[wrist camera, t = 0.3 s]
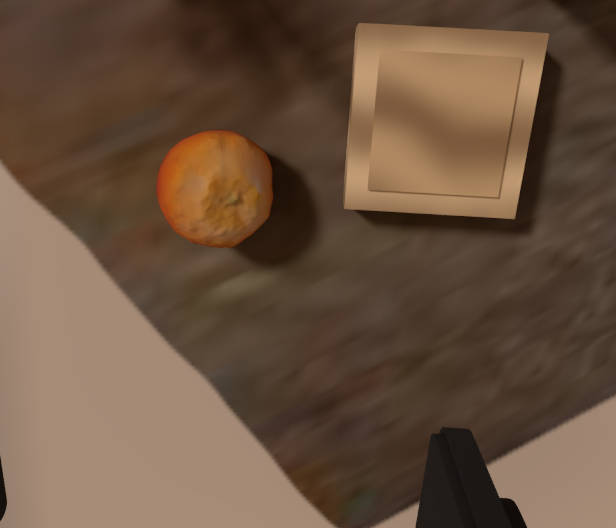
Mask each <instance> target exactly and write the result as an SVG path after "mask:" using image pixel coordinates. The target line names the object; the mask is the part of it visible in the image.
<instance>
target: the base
mask: <svg viewBox="0 0 616 528" xmlns="http://www.w3.org/2000/svg"><path fill="white" fill-rule="evenodd" d="M548 37H549V33H534V32H516V31H498V30H479V29H461V28H442V27H424V26H406V25H387V24H369V23H358V25H357V27H356V34H355V47H354V60H353V74H352V87H351V100H350V113H349V127H348V140H347V153H346V166H345V179H344V193H343V204H344V209H354V210H371V211H388V212H405V213H422V214H439V215H456V216H472V217H489V218H506V219H515V215H516V210H517V204H518V199H519V194H520V188H521V183H522V177H523V172H524V167H525V161H526V156H527V151H528V145H529V140H530V134H531V129H532V124H533V118H534V113H535V107H536V102H537V97H538V91H539V86H540V80H541V75H542V70H543V64H544V59H545V53H546V48H547V43H548Z"/></svg>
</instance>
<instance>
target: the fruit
mask: <svg viewBox="0 0 616 528" xmlns="http://www.w3.org/2000/svg"><path fill="white" fill-rule="evenodd" d="M156 193H157V198H158V202H159V205H160V208H161V210H162V212H163V214H164V216H165V218H166V219H167V221H168V222H169V224H170V225H171V227H172V228H173V229H174V230H175V231H176V232H177V233H178V234H179V235H181V236H183V237H184V238H186V239H188V240H189V241H191V242H193V243H198V244H202V245H205V246H210V247H219V248H222V247H229V248H230V247H234V246H235V245H237V244H239V243H240V242H242V241H243V240H244V239H246V238H247V237H249V236H250V235H252V234H253V233H254V232H255V231H256V230H257V229H258V228H259V227H260V226H261V225H262V224H263V223H264V222H265V221H266V220H267V219H268V217H269V215H270V209H271V205H272V201H273V189H272V166H271V163H270V161H269V158H268V156H267V154H266V153H265V152H264V150H263V149H262V148H261V147H259V146H258V145H257V144H255V143H254V142H252V141H251V140H249V139H248V138H246V137H245V136H243V135H241V134H239V133H236V132H233V131H227V130H213V131H204V132H201V133H198V134H195V135H192V136H189V137H187V138H185V139H183V140H182V141H180V142H179V143H178V144H176V145H175V146H174V147H173V148H172V149H171V150H170V151H169V152H168V153H167V155H166V156H165V158H164V160H163V161H162V163H161V166H160V169H159V172H158V177H157V187H156Z"/></svg>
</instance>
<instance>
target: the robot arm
mask: <svg viewBox="0 0 616 528" xmlns="http://www.w3.org/2000/svg"><path fill="white" fill-rule="evenodd" d="M6 506H7V498H6V491H5V485H4V478H3V472H2V465H1V458H0V521H1V519H2V518H3V515H4V513H5V510H6ZM416 528H527V526H526V524H525V522H524V520H523V517H522V515H521V513H520V511H519V509H518V507H517V505H516V504H515V502H514V501H513V500H511V499H508V498H499V496H498V494H497V491H496V489H495V486H494V484H493V481H492V479H491V477H490V474H489V472H488V470H487V467H486V465H485V463H484V460H483V458H482V456H481V453H480V451H479V448H478V446H477V444H476V441H475V439H474V437H473V434H472V432H471V431H470V430H469V429H460V428H447V427H443V428H441V430H440V434H432V435H431V439H430V444H429V450H428V456H427V462H426V468H425V474H424V480H423V486H422V492H421V498H420V504H419V510H418V517H417V522H416Z"/></svg>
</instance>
